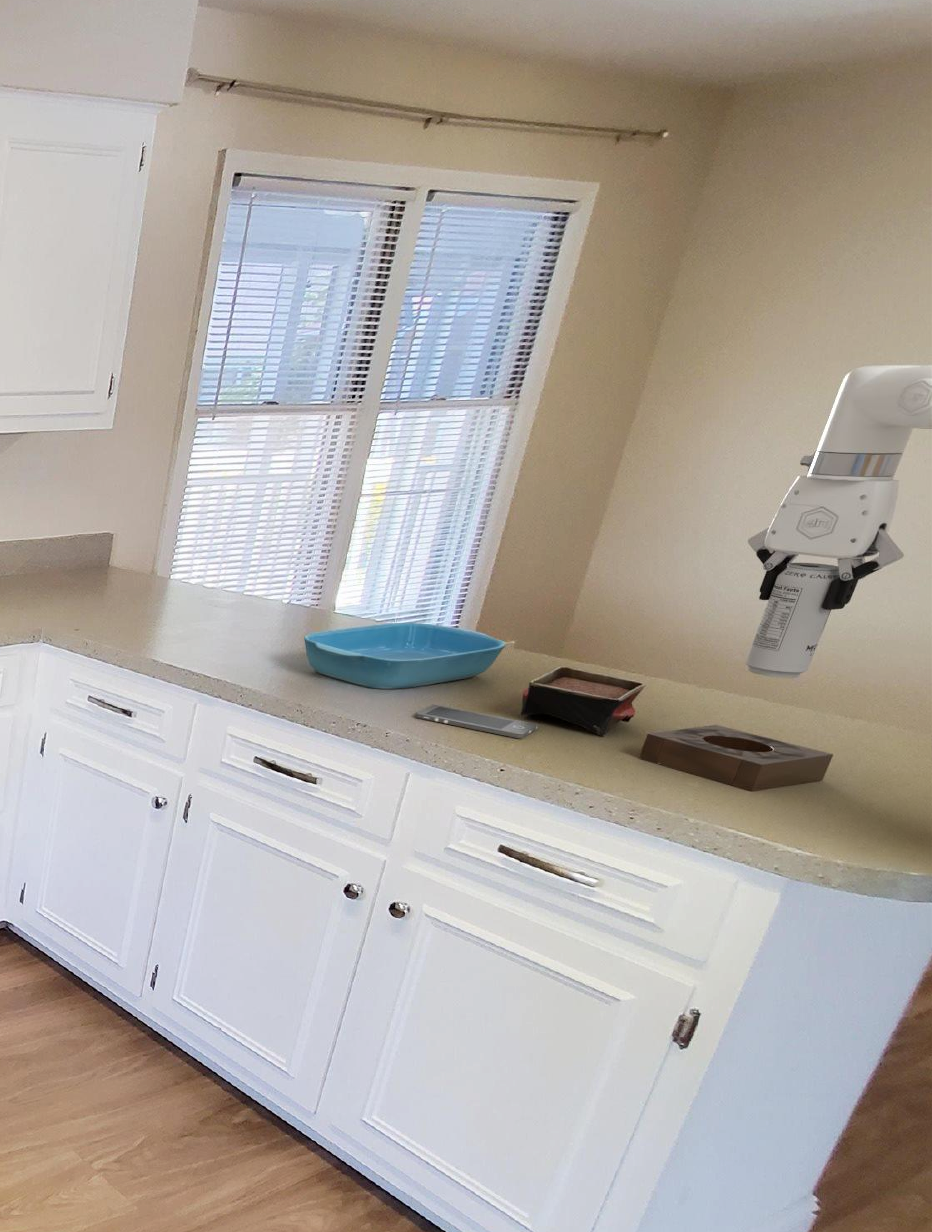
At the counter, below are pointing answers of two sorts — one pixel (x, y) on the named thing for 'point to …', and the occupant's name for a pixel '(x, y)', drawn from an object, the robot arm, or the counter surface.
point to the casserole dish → (401, 654)
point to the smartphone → (477, 721)
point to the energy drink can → (792, 621)
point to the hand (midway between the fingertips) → (800, 602)
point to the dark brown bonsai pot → (582, 698)
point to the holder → (736, 757)
